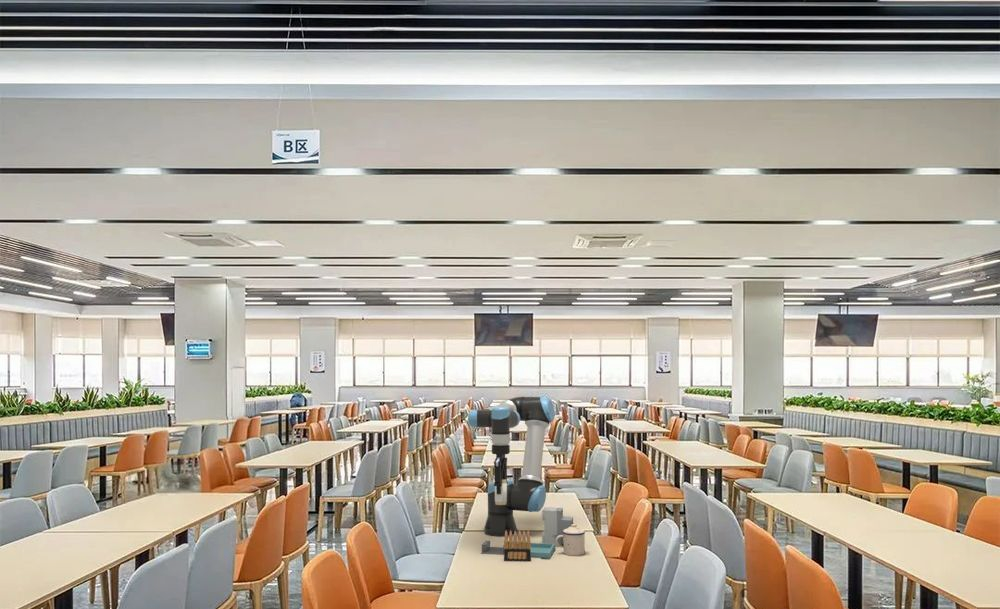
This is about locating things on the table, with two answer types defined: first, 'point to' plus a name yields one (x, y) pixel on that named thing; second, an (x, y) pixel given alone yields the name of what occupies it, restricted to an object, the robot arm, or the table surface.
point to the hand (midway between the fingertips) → (500, 500)
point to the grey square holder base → (492, 549)
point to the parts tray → (541, 550)
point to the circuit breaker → (554, 525)
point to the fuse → (503, 493)
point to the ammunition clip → (522, 549)
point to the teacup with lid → (573, 541)
